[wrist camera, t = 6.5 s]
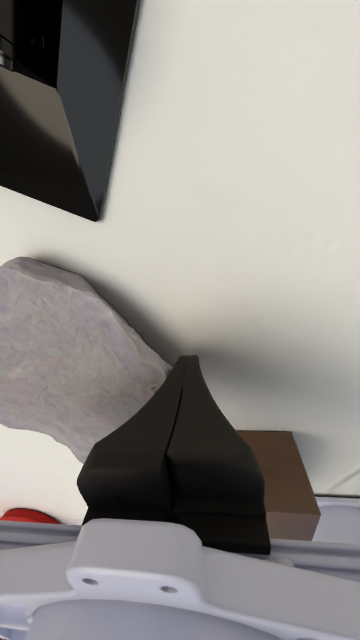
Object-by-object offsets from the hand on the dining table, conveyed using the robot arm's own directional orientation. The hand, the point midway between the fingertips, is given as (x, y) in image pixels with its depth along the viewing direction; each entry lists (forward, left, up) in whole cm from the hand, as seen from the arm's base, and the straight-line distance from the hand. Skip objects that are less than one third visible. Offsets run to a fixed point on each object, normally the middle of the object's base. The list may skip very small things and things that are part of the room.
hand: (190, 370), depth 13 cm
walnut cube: (-10, -4, -2) cm, 10 cm away
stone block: (+1, +7, -2) cm, 7 cm away
